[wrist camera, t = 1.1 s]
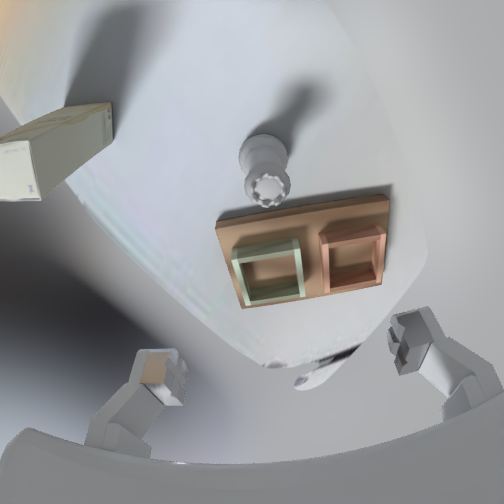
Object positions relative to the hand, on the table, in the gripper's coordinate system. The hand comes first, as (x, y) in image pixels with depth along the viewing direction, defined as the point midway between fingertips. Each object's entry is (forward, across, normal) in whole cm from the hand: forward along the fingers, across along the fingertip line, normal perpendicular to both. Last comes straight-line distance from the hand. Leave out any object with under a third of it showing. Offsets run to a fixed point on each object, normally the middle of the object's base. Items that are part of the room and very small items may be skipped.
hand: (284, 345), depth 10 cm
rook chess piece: (+20, 0, -1) cm, 20 cm away
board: (+20, -3, +11) cm, 23 cm away
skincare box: (+20, +16, -9) cm, 27 cm away
